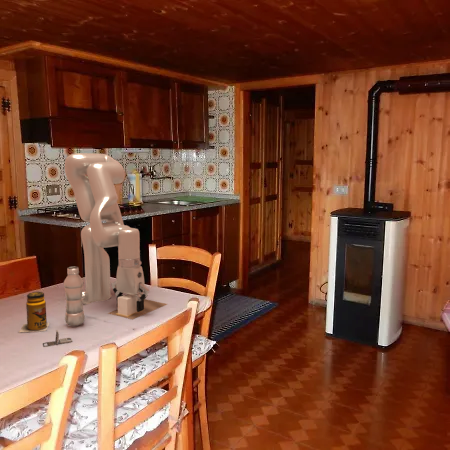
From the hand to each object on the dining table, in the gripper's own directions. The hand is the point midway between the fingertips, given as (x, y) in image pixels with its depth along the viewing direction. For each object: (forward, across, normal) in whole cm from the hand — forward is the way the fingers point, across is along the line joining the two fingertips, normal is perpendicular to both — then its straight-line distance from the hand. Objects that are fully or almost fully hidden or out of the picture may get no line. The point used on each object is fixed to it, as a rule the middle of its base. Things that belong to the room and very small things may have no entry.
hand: (130, 308), depth 160 cm
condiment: (+3, +19, +26) cm, 32 cm away
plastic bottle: (+3, +10, +17) cm, 20 cm away
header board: (+3, 0, -4) cm, 5 cm away
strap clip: (+3, +2, +30) cm, 30 cm away
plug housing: (+1, 0, 0) cm, 1 cm away
